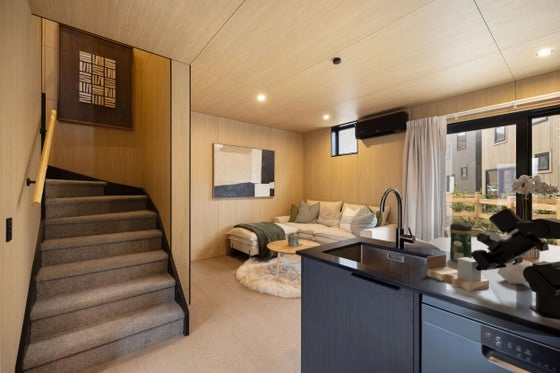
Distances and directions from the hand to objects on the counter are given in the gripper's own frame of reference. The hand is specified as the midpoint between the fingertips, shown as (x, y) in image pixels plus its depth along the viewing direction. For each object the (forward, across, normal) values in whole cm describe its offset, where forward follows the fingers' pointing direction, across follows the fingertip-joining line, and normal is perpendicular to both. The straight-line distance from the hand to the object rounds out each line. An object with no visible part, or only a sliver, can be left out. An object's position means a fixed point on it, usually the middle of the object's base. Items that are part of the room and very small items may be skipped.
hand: (477, 269), depth 90 cm
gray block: (+5, 0, +1) cm, 5 cm away
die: (+4, -19, +6) cm, 20 cm away
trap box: (+10, 0, 0) cm, 10 cm away
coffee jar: (+23, -30, -13) cm, 40 cm away
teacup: (+6, -32, +3) cm, 33 cm away
